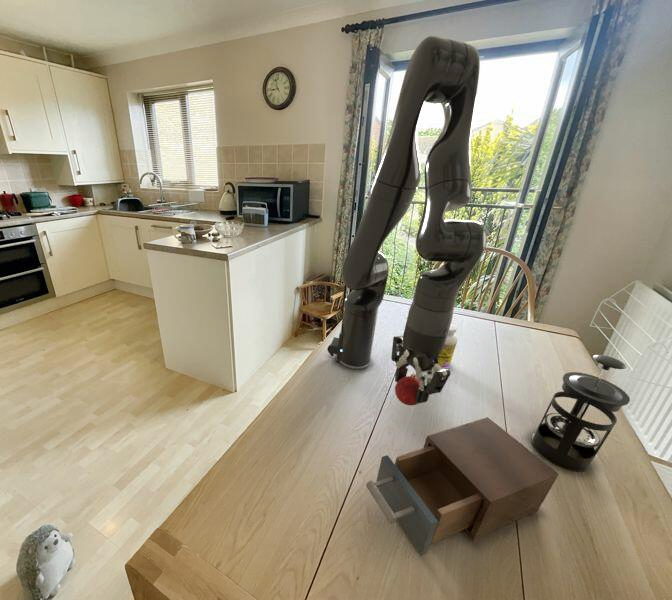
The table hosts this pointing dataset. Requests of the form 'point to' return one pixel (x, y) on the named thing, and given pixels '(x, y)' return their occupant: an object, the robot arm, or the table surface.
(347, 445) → the table surface
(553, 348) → the table surface
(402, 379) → the red round piece
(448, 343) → the supplement bottle
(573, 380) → the french press
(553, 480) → the cabinet
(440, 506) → the drawer
